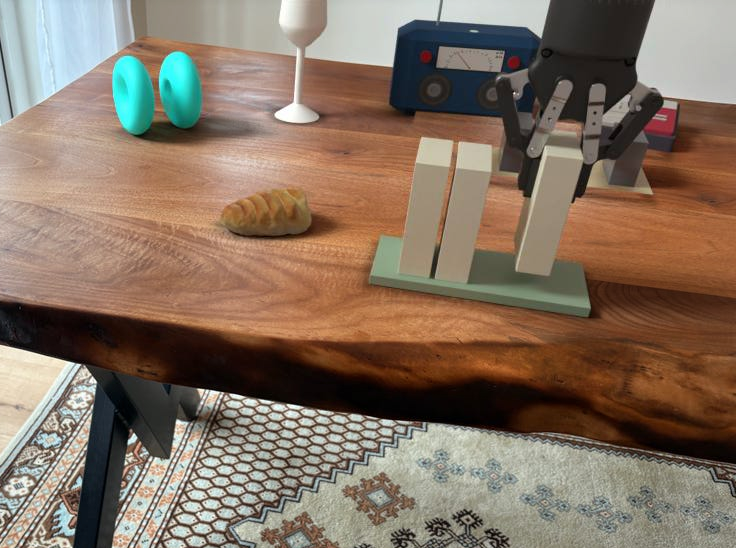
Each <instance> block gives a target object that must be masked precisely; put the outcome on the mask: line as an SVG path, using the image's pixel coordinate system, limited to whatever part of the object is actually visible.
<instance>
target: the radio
mask: <svg viewBox="0 0 736 548" xmlns="http://www.w3.org/2000/svg"><path fill="white" fill-rule="evenodd" d="M443 4H444V0H439V6H438V12H437V17H436V20H429V19H413V20H411V21H409V22H407V23H406V24H403V25H401V26H400V27H397V34H396V41H395V48H394V56H393V63H392V71H391V78H390V84H389V92H388V93H389V99H388V102H389V106H391V107H392V108H393V109H395V110H396V111H397V112H399V113H400V114H401V115H403V116H413V117H415V116H416V113H417V112H425V113H436V114H439V113H440V114H449V115H450V114H452V115H461V116H462V115H464V116H477V117H479V116H480V117H489V118H500V119H502V116H501V111H500V107H499V102H498V98H497V93H496V88H495V80H496V76H497V75H498V74H499V73H501V72H506V73H508V74H511V73H514V72H517V71H521V70H524V69H527V68H528V65H529V63H530V62H531V61H532V59H533V58H534V57H535V55H536V54H537V52H538V49H539V46H540V41H541V37H540V36H539V35H537V34H536V33H535V32H534V31H532V30H531V29H530V28H529V27H527V26H516V25H500V24H486V23H474V22H473V23H472V22H471V23H470V22H460V21H459V22H457V21H444V20H441V16H442V10H443ZM536 100H537V97H536V95H535V93H534V91H533V89H532V86H531V84H530V82H528V83H526V84H525V85H524V87H523V94H522V96H521V98H520V99H518V100H515V103H516V108H517V112H526V113H532V114H533V112H534V111H533V110H534V107H535V103H536Z"/></svg>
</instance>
